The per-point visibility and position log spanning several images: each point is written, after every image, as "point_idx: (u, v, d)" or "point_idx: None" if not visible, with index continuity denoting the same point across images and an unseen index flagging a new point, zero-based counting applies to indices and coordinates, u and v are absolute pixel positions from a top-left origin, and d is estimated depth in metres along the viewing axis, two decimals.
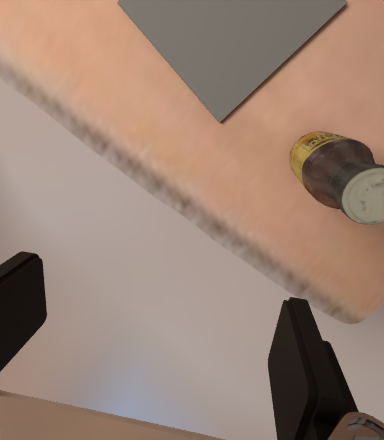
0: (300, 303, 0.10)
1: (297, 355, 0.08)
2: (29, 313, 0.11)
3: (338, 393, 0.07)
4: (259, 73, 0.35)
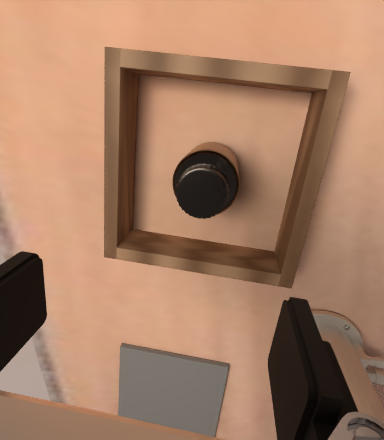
0: (300, 303, 0.10)
1: (297, 355, 0.08)
2: (29, 313, 0.11)
3: (338, 393, 0.07)
4: None
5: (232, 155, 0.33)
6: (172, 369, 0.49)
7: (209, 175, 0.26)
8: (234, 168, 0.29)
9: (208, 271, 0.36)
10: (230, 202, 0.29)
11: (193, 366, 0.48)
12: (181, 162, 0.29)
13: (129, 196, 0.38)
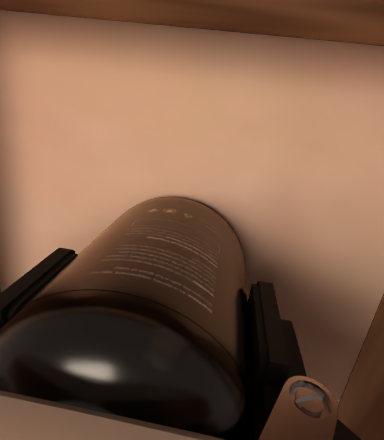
0: (265, 286, 0.10)
1: (256, 330, 0.09)
2: None
3: (285, 360, 0.07)
4: None
5: (226, 254, 0.10)
6: None
7: None
8: (232, 390, 0.06)
9: None
10: None
11: None
12: None
13: None
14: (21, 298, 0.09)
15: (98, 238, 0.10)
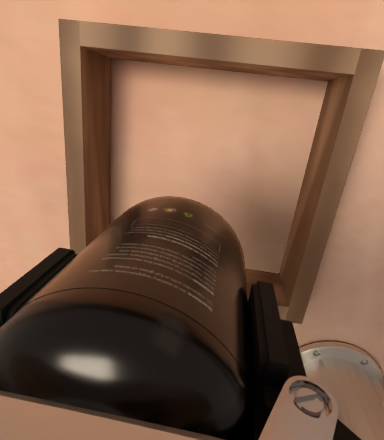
0: (265, 286, 0.10)
1: (256, 330, 0.09)
2: None
3: (286, 360, 0.07)
4: None
5: (226, 253, 0.10)
6: None
7: None
8: (232, 388, 0.06)
9: None
10: None
11: None
12: None
13: (103, 209, 0.32)
14: (21, 298, 0.09)
15: (98, 237, 0.10)
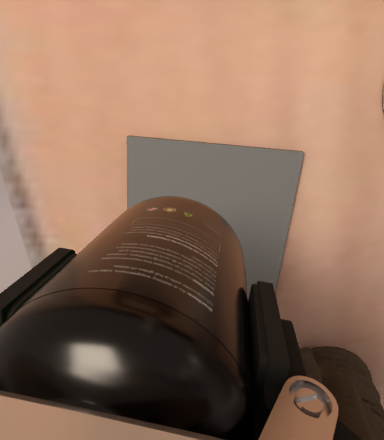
0: (266, 286, 0.10)
1: (256, 330, 0.09)
2: None
3: (286, 360, 0.07)
4: None
5: (226, 253, 0.10)
6: (210, 170, 0.31)
7: None
8: (232, 389, 0.06)
9: None
10: None
11: (244, 159, 0.30)
12: None
13: None
14: (21, 298, 0.09)
15: (98, 237, 0.10)
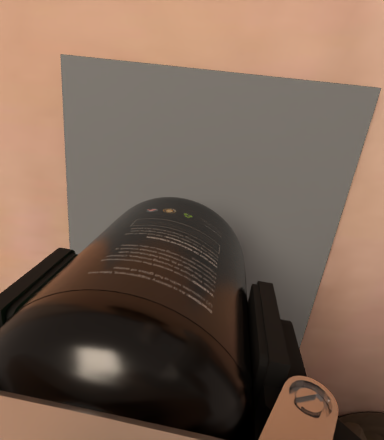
0: (265, 286, 0.10)
1: (256, 330, 0.09)
2: None
3: (285, 360, 0.07)
4: None
5: (226, 254, 0.10)
6: (207, 121, 0.17)
7: None
8: (232, 391, 0.06)
9: None
10: None
11: (269, 99, 0.17)
12: None
13: None
14: (21, 298, 0.09)
15: (98, 238, 0.10)
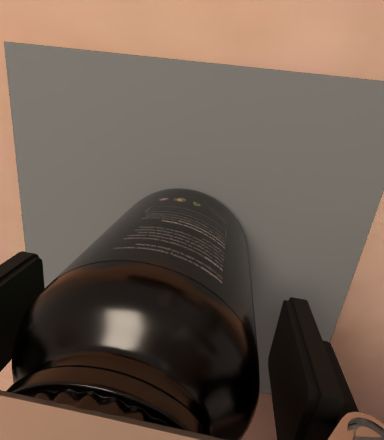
0: (300, 303, 0.10)
1: (297, 355, 0.08)
2: None
3: (338, 393, 0.07)
4: None
5: (232, 238, 0.11)
6: (193, 127, 0.14)
7: None
8: (240, 345, 0.07)
9: None
10: None
11: (274, 100, 0.13)
12: (29, 312, 0.07)
13: None
14: None
15: (115, 223, 0.11)
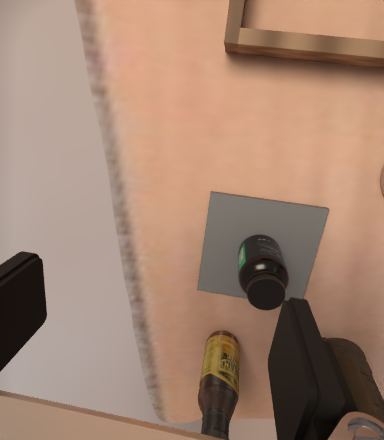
0: (300, 303, 0.10)
1: (297, 355, 0.08)
2: (29, 313, 0.11)
3: (338, 393, 0.07)
4: (238, 292, 0.52)
5: (279, 250, 0.44)
6: (265, 217, 0.46)
7: (272, 283, 0.37)
8: (286, 270, 0.40)
9: (342, 49, 0.33)
10: None
11: (289, 211, 0.45)
12: (247, 265, 0.40)
13: None
14: None
15: (249, 246, 0.44)
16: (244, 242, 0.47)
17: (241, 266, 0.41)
